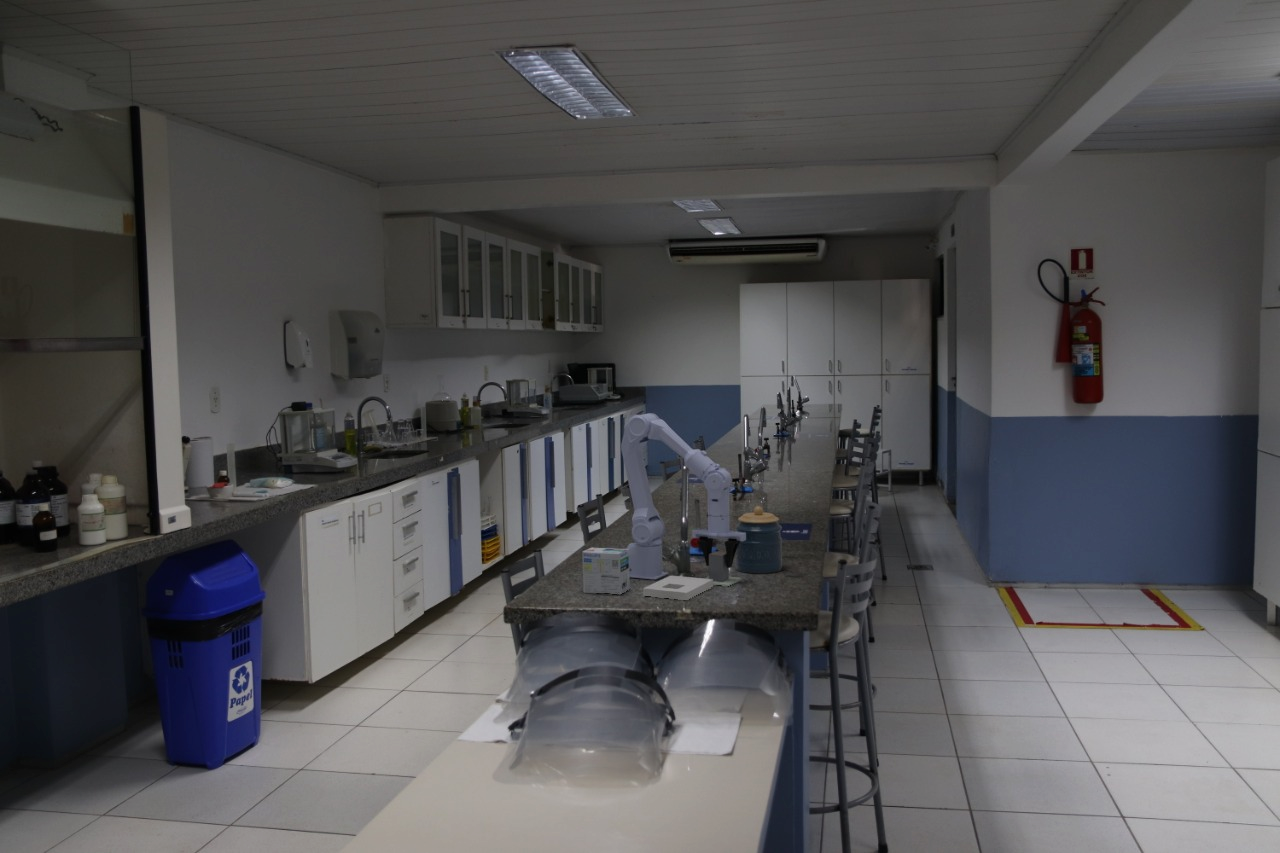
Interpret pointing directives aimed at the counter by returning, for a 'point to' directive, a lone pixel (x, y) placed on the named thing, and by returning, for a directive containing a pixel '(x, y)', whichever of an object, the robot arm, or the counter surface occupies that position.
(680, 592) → the plate
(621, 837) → the counter surface
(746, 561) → the canister
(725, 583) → the mat
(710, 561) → the plug
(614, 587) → the light bulb box
